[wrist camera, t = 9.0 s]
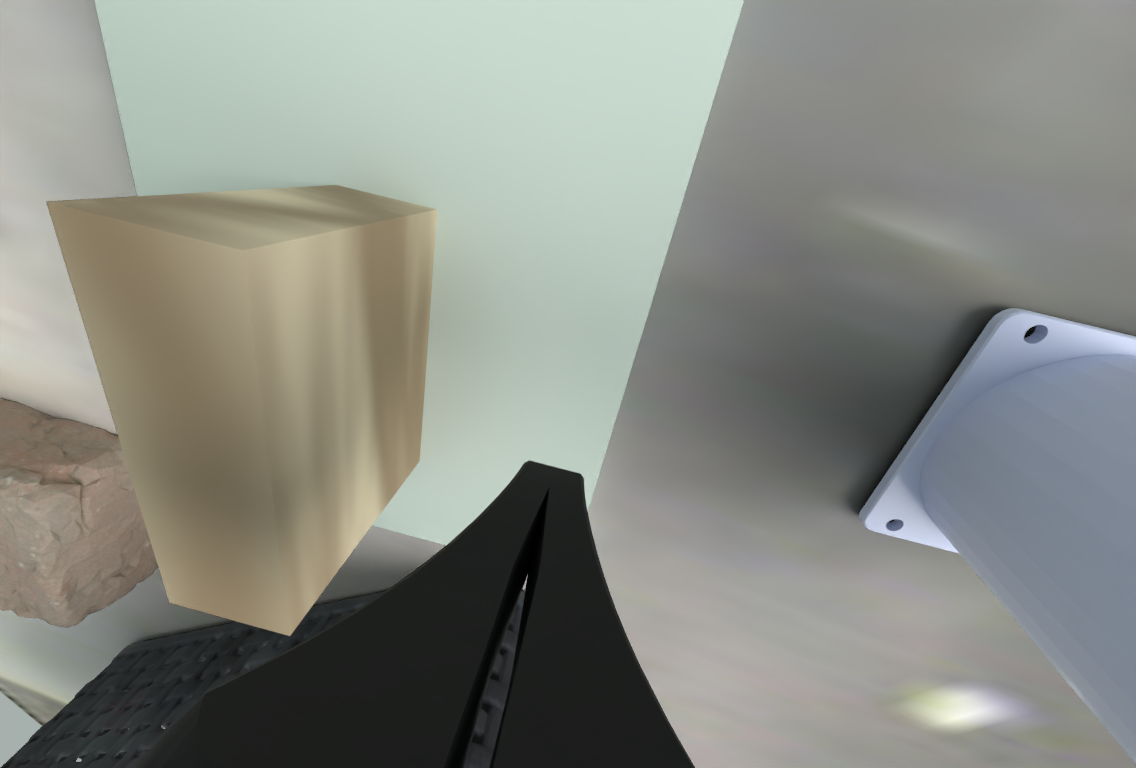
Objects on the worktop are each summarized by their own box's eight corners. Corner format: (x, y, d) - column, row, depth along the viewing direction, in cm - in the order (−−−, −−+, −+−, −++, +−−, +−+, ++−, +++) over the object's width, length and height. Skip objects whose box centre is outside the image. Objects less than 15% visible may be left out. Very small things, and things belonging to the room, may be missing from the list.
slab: (437, 209, 13) (242, 250, 6) (419, 461, 17) (289, 636, 10) (336, 185, 13) (46, 202, 6) (343, 440, 17) (169, 602, 11)
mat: (758, -59, 10) (766, -71, 9) (569, 565, 19) (567, 577, 18) (75, -208, 10) (44, -229, 10) (211, 470, 19) (198, 479, 19)
